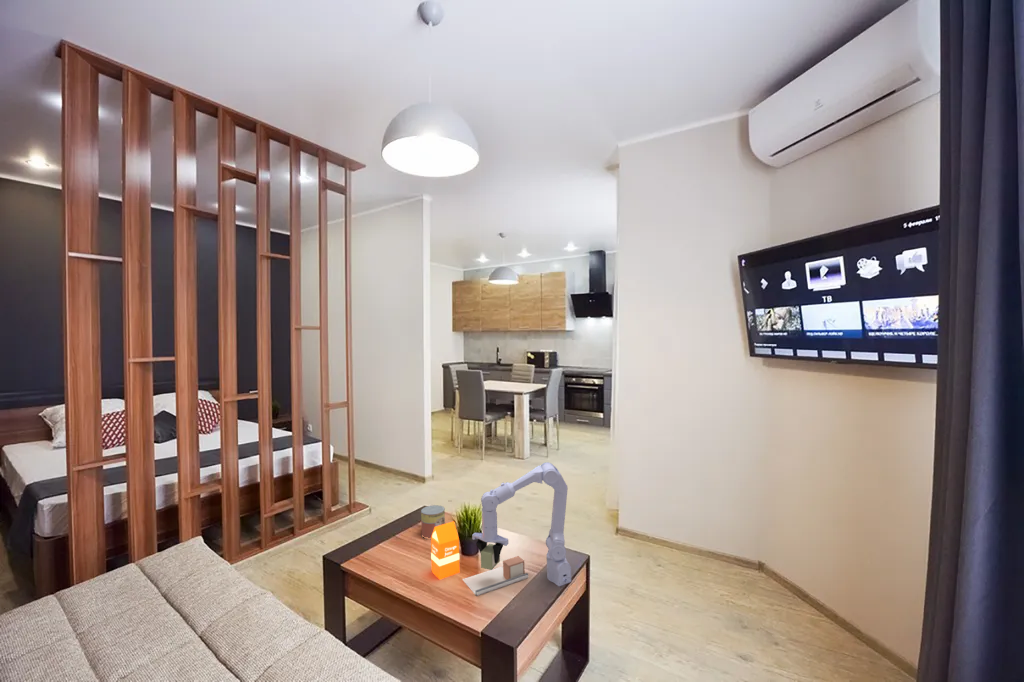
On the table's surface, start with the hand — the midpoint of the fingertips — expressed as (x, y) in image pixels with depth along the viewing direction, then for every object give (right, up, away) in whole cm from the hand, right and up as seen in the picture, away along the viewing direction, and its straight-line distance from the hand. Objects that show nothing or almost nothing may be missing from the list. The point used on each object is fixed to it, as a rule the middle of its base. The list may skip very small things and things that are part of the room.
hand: (490, 560), depth 162 cm
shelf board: (+2, -9, +3) cm, 9 cm away
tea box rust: (+9, -8, +4) cm, 13 cm away
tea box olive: (0, -1, 0) cm, 1 cm away
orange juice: (-18, -10, +8) cm, 22 cm away
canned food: (-30, -10, +44) cm, 54 cm away
